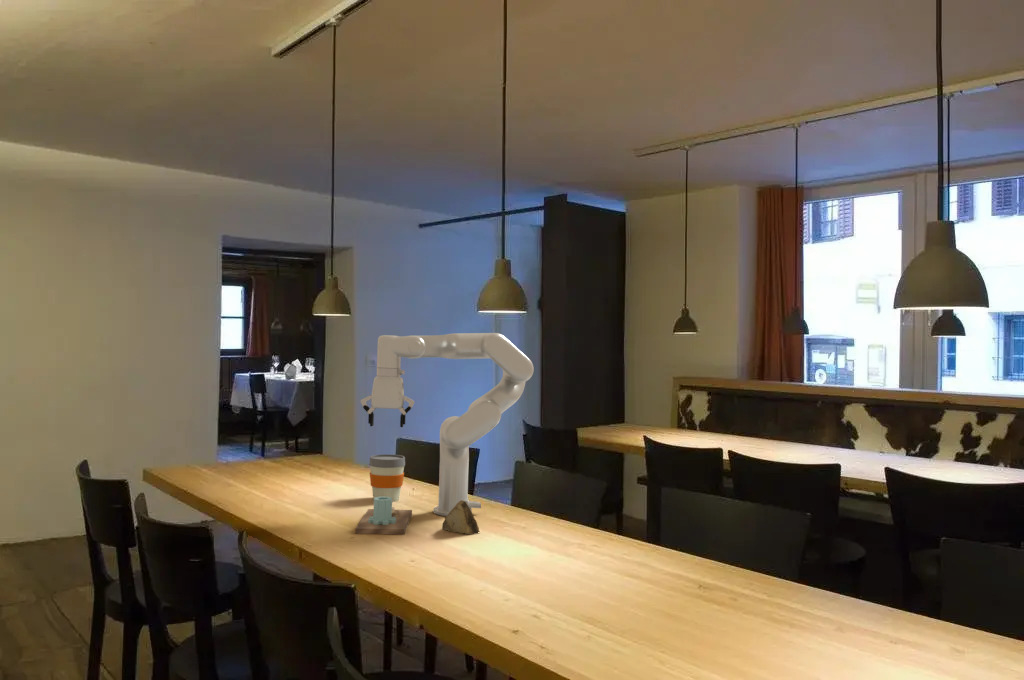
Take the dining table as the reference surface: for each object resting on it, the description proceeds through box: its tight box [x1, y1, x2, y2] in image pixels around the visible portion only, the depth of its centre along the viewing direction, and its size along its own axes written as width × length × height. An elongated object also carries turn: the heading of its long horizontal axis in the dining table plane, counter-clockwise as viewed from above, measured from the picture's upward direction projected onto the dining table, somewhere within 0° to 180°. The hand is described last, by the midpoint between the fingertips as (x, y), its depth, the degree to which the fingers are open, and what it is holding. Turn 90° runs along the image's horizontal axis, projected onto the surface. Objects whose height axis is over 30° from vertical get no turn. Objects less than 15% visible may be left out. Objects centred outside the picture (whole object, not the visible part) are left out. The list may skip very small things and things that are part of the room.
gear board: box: [354, 506, 413, 535], centre depth 226 cm, size 14×25×7 cm, turn 3°
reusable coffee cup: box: [368, 453, 406, 503], centre depth 261 cm, size 13×12×15 cm
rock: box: [441, 500, 481, 535], centre depth 220 cm, size 11×9×10 cm
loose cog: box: [368, 497, 396, 525], centre depth 222 cm, size 8×8×7 cm
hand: (386, 426), depth 239 cm, fingers open, 9 cm apart
